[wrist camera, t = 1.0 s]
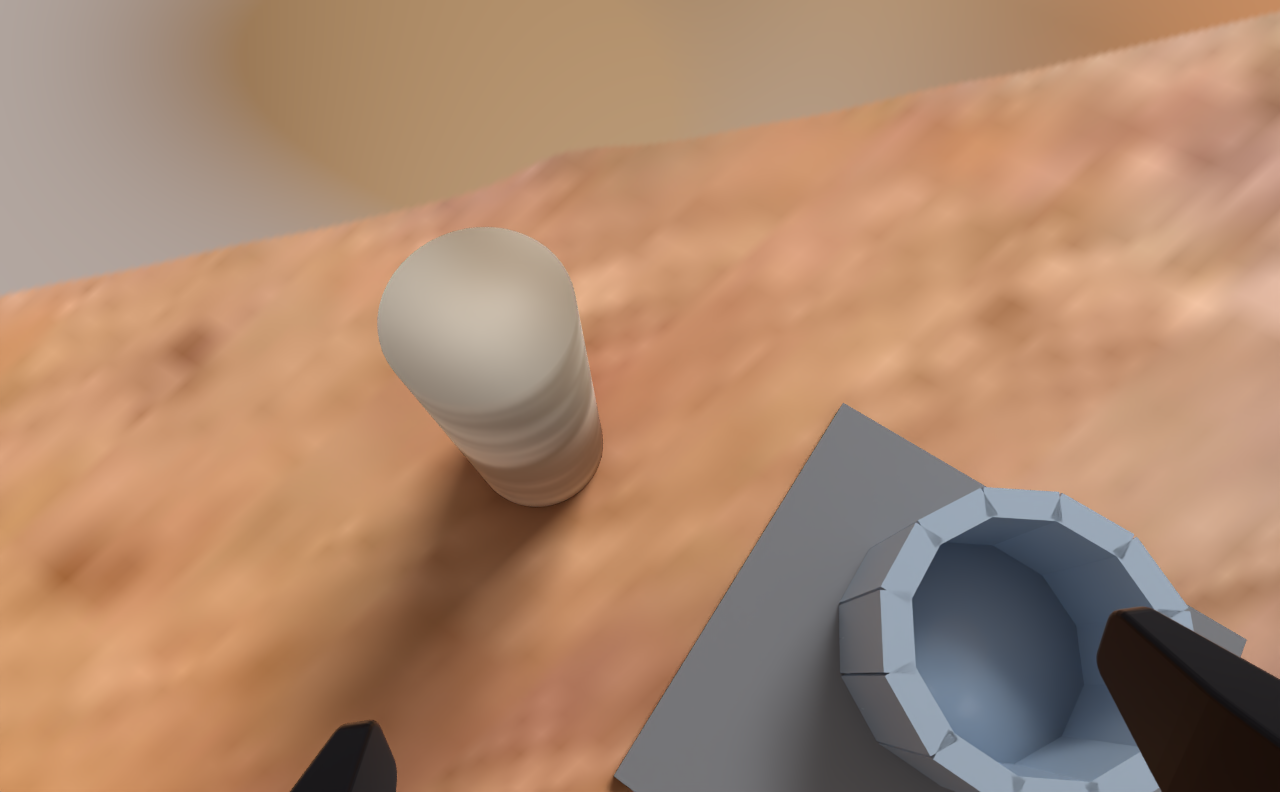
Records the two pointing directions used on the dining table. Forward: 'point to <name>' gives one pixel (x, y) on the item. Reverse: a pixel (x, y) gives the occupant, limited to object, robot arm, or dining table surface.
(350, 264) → the dining table surface
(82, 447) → the dining table surface
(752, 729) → the mat
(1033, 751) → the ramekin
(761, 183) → the dining table surface
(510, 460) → the stopper
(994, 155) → the dining table surface
